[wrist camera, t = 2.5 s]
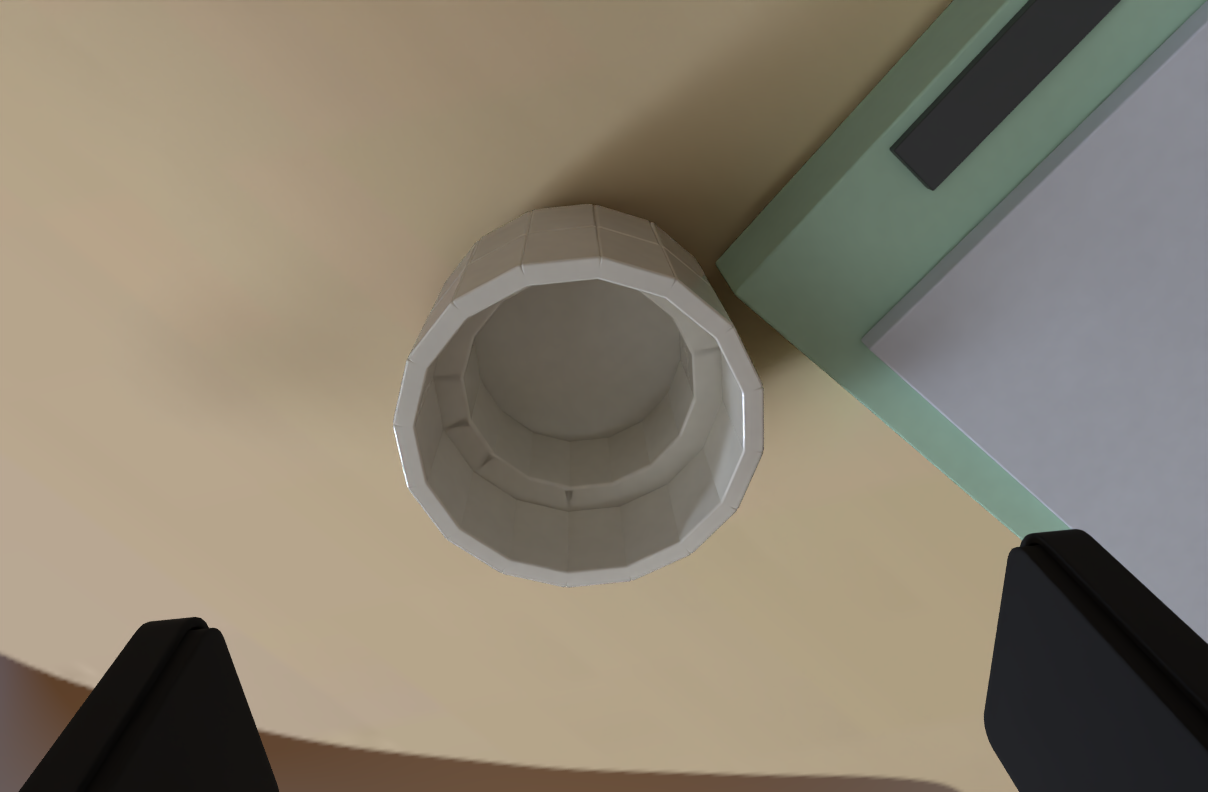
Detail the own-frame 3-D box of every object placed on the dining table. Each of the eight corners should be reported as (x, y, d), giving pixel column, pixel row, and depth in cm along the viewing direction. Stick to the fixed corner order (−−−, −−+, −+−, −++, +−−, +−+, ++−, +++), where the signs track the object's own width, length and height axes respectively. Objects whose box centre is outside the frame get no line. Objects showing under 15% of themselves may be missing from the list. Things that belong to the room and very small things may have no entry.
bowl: (381, 362, 19) (324, 465, 14) (555, 136, 17) (549, 173, 12) (597, 507, 21) (605, 638, 17) (774, 322, 19) (839, 412, 14)
